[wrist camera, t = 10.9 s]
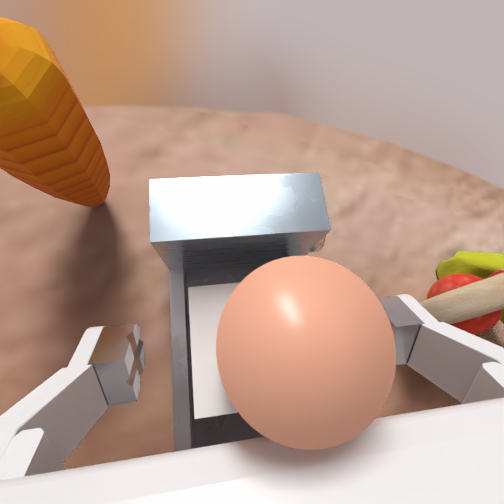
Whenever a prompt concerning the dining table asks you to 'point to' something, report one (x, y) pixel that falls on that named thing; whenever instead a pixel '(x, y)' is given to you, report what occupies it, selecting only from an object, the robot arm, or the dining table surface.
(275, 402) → the carriage
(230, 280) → the rail track
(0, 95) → the carrot
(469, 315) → the decorative toy figure
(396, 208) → the dining table surface
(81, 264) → the dining table surface
